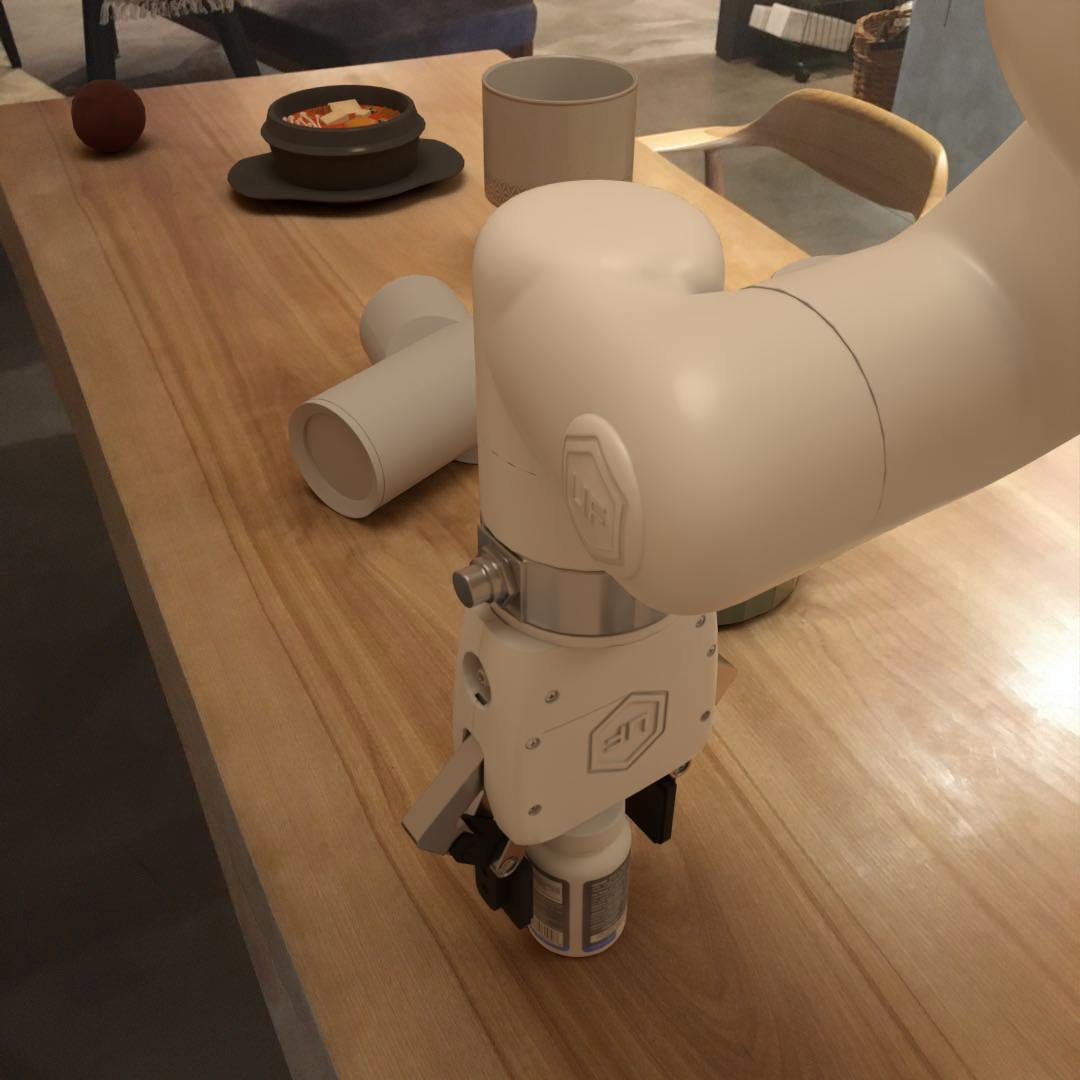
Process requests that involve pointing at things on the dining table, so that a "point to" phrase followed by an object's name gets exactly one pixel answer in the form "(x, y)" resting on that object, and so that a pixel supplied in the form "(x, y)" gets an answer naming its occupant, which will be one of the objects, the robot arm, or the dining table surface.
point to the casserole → (343, 148)
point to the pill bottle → (582, 885)
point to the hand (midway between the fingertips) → (576, 859)
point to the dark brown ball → (108, 115)
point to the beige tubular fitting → (393, 401)
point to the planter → (556, 122)
